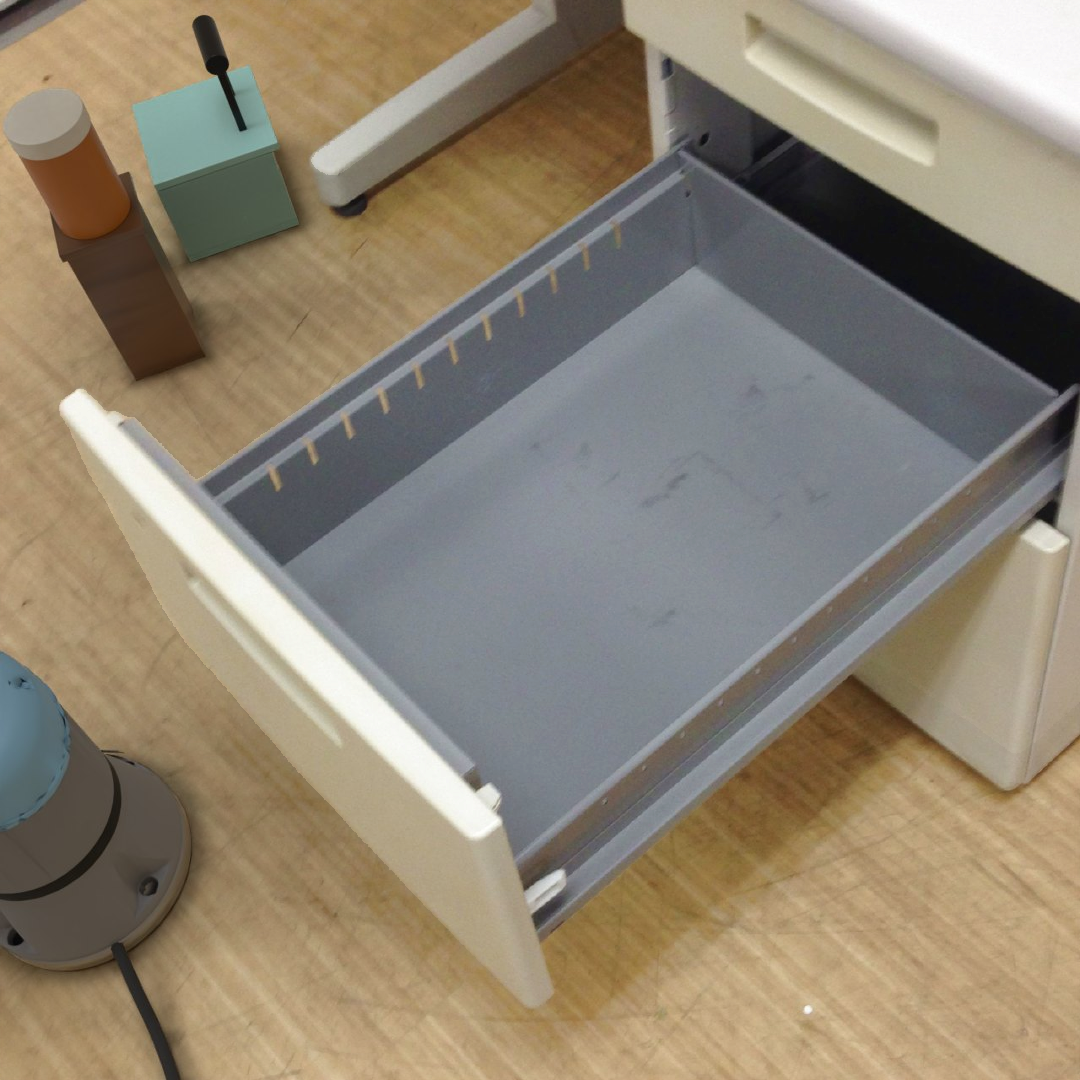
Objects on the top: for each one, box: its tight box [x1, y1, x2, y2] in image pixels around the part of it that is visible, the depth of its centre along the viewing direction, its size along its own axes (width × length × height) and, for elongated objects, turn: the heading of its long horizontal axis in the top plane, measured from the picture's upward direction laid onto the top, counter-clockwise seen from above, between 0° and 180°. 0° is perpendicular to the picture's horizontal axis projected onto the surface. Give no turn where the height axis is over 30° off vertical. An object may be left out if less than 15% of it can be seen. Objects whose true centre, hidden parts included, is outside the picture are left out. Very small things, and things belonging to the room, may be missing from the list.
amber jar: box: [2, 87, 130, 240], centre depth 117 cm, size 6×6×10 cm
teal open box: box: [156, 151, 300, 263], centre depth 140 cm, size 11×12×9 cm
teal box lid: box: [131, 14, 281, 192], centre depth 132 cm, size 11×12×9 cm
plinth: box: [48, 171, 206, 381], centre depth 128 cm, size 7×7×16 cm
